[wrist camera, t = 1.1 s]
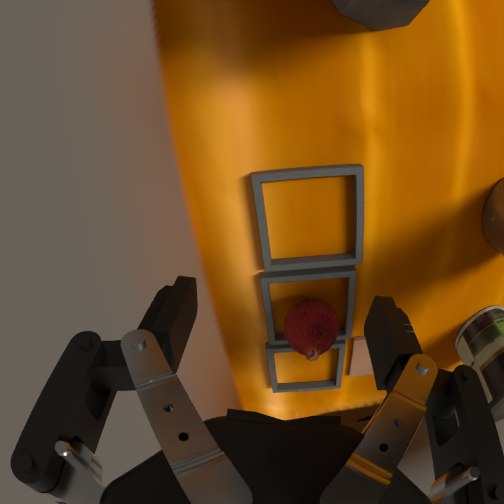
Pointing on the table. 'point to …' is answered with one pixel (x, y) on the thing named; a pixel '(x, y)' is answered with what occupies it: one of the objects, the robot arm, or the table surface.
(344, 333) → the tray
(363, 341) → the tile
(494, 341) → the coffee can
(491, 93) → the table surface
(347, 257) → the tray
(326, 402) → the table surface
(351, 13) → the coffeepot
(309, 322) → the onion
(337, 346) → the tray
